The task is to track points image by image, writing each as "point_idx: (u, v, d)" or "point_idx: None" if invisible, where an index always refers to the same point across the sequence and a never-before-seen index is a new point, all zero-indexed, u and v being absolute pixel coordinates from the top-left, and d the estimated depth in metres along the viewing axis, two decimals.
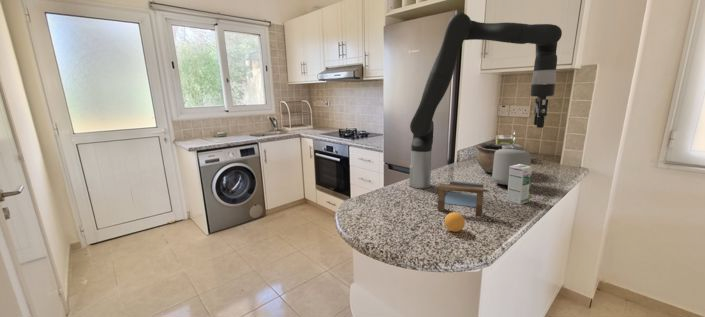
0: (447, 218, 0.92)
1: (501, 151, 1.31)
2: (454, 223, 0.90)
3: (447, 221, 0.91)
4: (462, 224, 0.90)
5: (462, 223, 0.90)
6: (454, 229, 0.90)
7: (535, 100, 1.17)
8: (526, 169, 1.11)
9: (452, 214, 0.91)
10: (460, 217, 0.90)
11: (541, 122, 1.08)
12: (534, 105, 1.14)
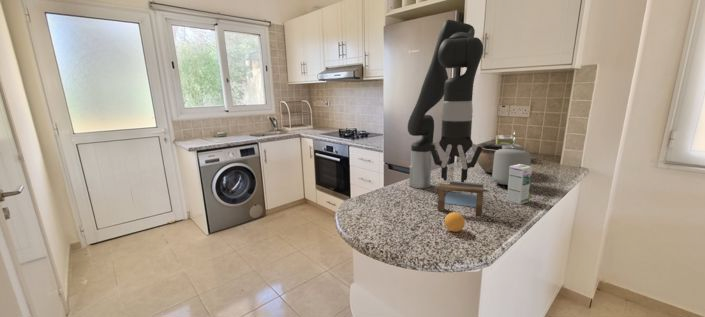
0: (447, 218, 0.92)
1: (501, 151, 1.31)
2: (454, 223, 0.90)
3: (447, 221, 0.91)
4: (462, 224, 0.90)
5: (462, 223, 0.90)
6: (454, 229, 0.90)
7: None
8: (526, 169, 1.11)
9: (452, 214, 0.91)
10: (460, 217, 0.90)
11: None
12: None
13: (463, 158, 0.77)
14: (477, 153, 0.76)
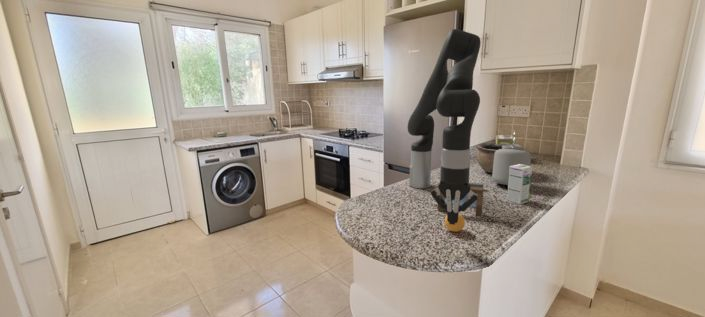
0: None
1: (501, 151, 1.31)
2: None
3: (447, 221, 0.91)
4: (462, 224, 0.90)
5: (462, 223, 0.90)
6: (454, 229, 0.90)
7: None
8: (526, 169, 1.11)
9: None
10: (460, 217, 0.90)
11: None
12: None
13: (457, 203, 0.80)
14: (471, 201, 0.79)
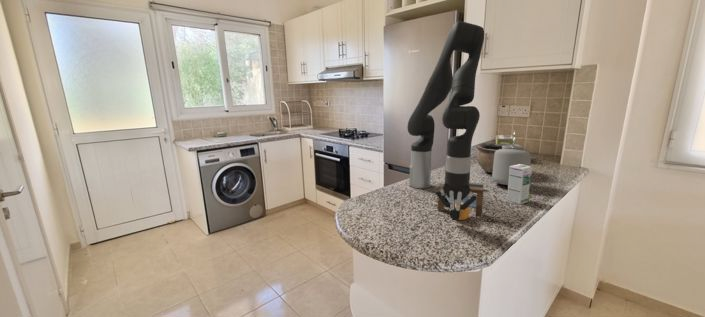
0: None
1: (501, 151, 1.31)
2: None
3: None
4: None
5: None
6: None
7: None
8: (526, 169, 1.11)
9: None
10: None
11: None
12: None
13: (459, 202, 0.94)
14: (471, 200, 0.92)
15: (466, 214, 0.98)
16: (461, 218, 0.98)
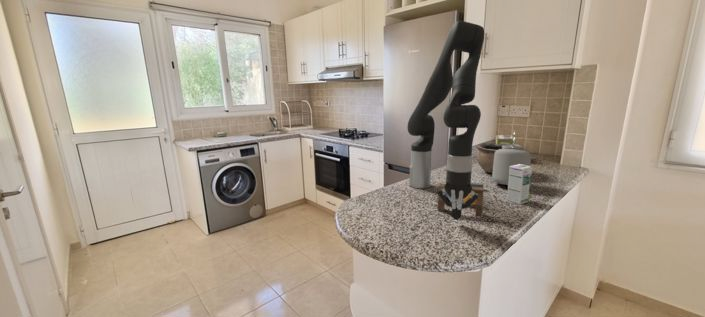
0: None
1: (501, 151, 1.31)
2: None
3: None
4: None
5: None
6: None
7: None
8: (526, 169, 1.11)
9: None
10: None
11: None
12: None
13: (460, 201, 0.94)
14: (472, 199, 0.92)
15: None
16: None
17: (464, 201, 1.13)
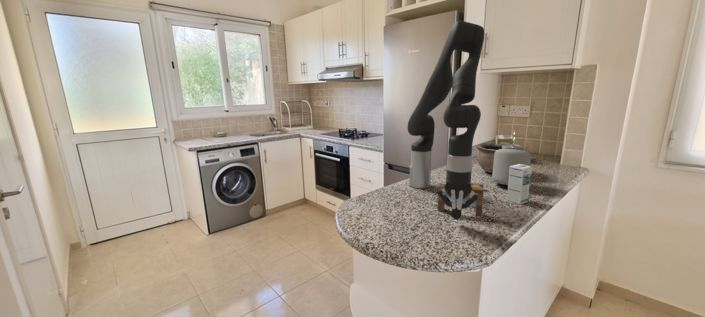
0: None
1: (501, 151, 1.31)
2: None
3: None
4: None
5: None
6: None
7: None
8: (526, 169, 1.11)
9: None
10: None
11: None
12: None
13: (460, 201, 0.94)
14: (472, 199, 0.92)
15: None
16: None
17: None
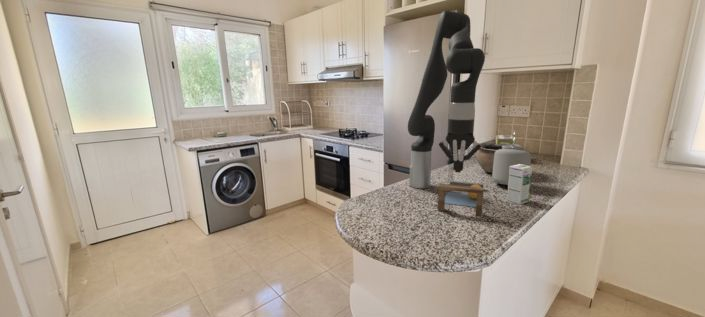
0: None
1: (501, 151, 1.31)
2: None
3: None
4: None
5: None
6: None
7: None
8: (526, 169, 1.11)
9: (471, 197, 1.19)
10: None
11: None
12: None
13: (462, 152, 0.90)
14: (475, 149, 0.89)
15: None
16: None
17: None
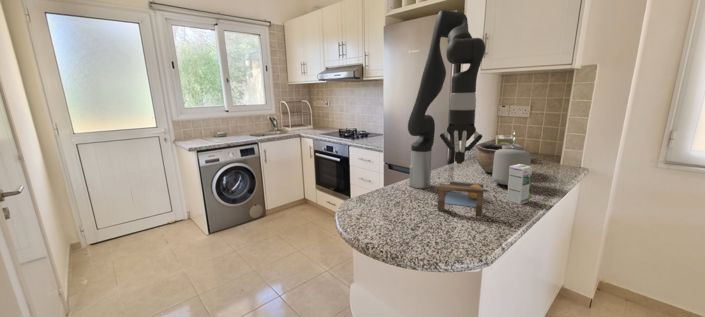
0: None
1: (501, 151, 1.31)
2: None
3: None
4: None
5: None
6: None
7: None
8: (526, 169, 1.11)
9: (471, 197, 1.19)
10: None
11: None
12: None
13: (464, 143, 0.90)
14: (476, 140, 0.88)
15: None
16: None
17: None
